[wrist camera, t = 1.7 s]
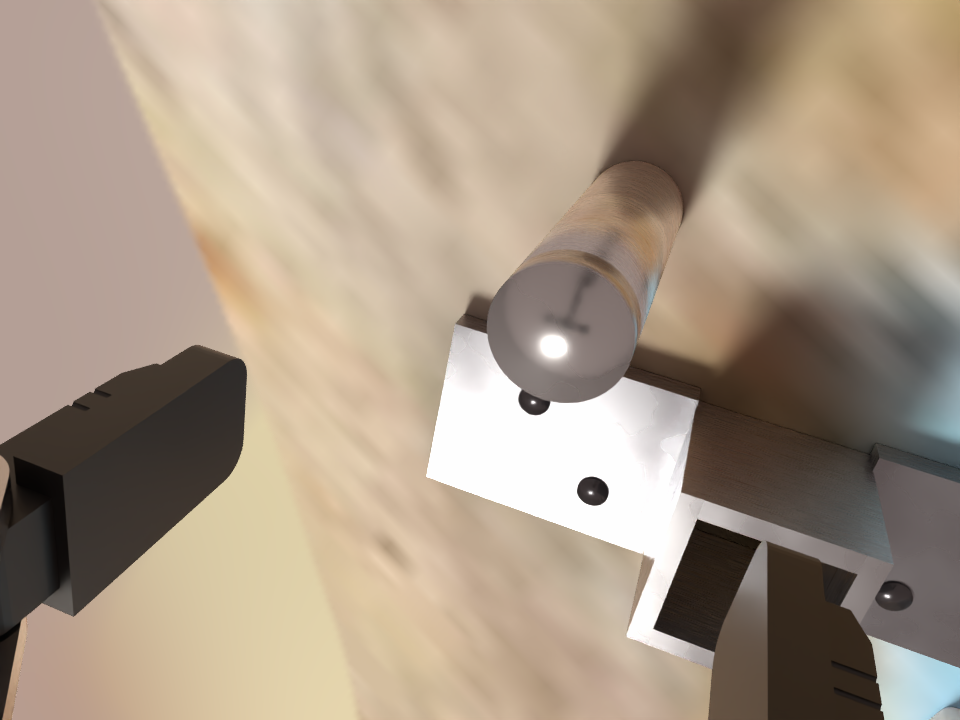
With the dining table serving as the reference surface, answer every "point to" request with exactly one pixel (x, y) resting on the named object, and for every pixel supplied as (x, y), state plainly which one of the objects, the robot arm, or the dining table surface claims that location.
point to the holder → (947, 714)
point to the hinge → (708, 499)
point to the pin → (587, 287)
